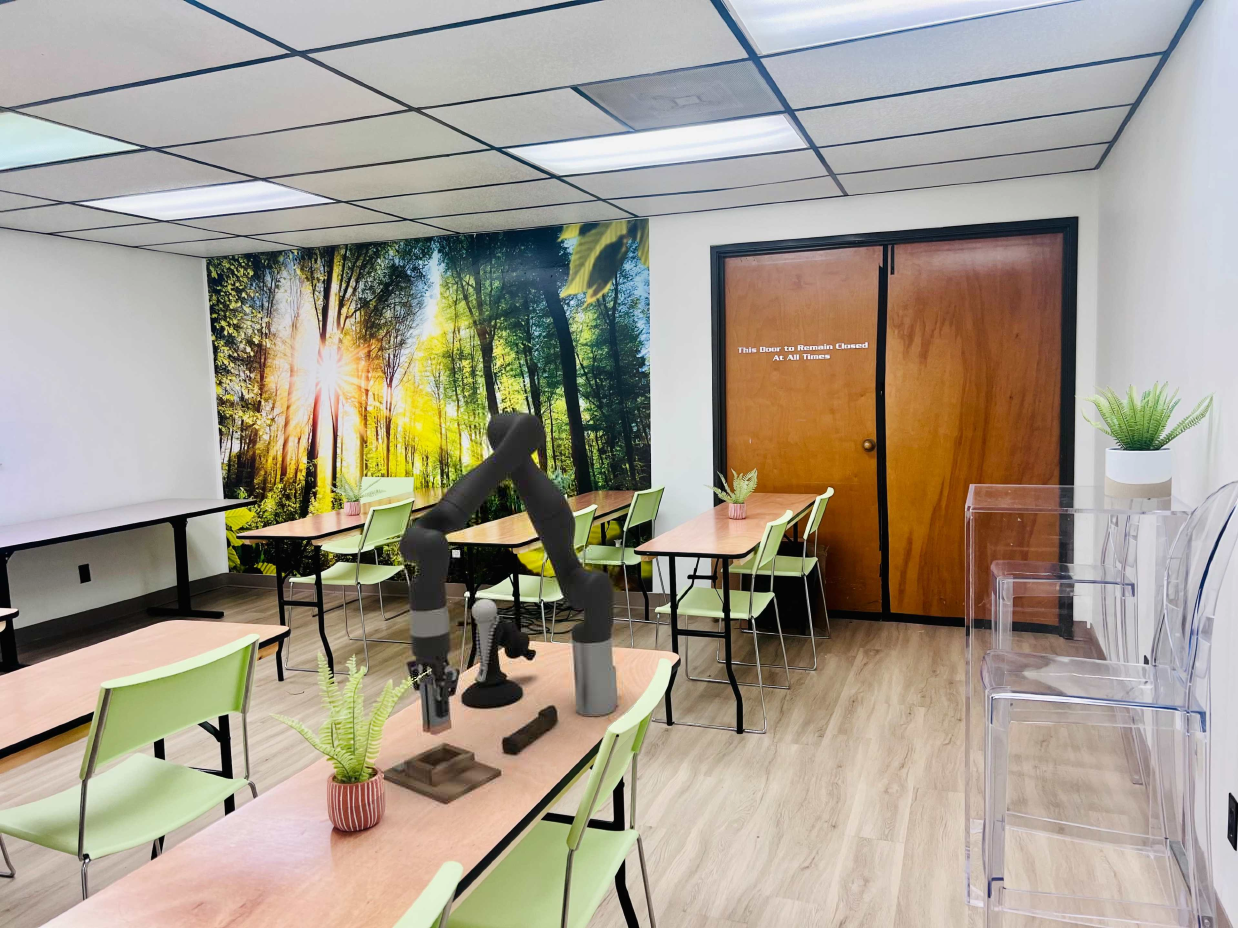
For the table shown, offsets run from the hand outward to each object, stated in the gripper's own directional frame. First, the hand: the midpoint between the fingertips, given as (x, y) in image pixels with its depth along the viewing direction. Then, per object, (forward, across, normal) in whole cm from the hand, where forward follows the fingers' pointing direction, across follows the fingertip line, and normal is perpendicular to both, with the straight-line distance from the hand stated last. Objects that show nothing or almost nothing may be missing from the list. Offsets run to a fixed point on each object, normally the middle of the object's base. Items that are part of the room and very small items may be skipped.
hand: (436, 714), depth 168 cm
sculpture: (+13, +24, -40) cm, 48 cm away
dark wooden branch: (+13, -2, -24) cm, 27 cm away
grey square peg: (+3, 0, 0) cm, 3 cm away
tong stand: (+13, 0, 0) cm, 13 cm away
